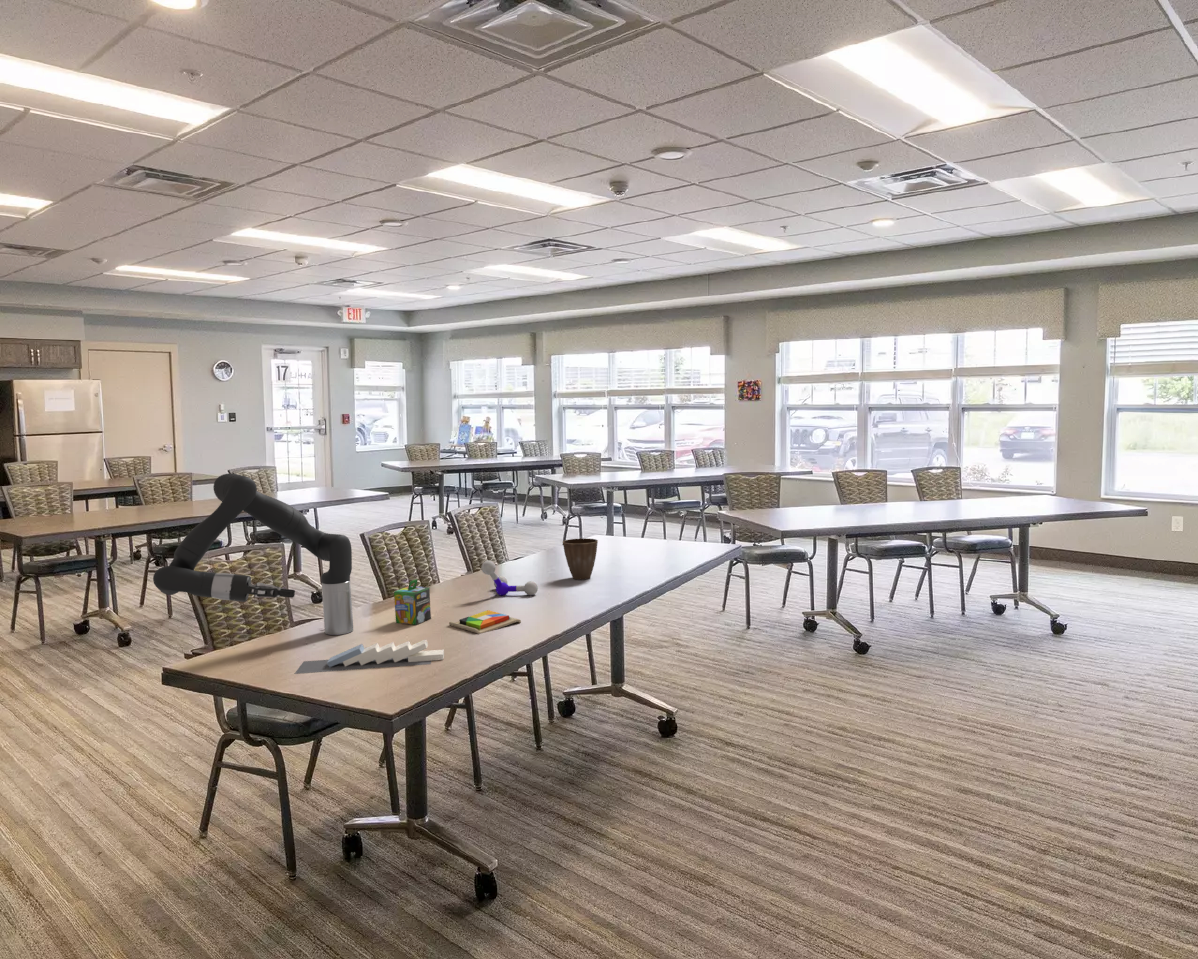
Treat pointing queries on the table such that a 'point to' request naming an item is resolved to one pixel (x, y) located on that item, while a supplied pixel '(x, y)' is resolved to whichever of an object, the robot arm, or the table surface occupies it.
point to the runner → (353, 665)
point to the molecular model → (501, 581)
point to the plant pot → (580, 557)
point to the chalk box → (412, 604)
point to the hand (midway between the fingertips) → (294, 593)
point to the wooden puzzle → (484, 622)
